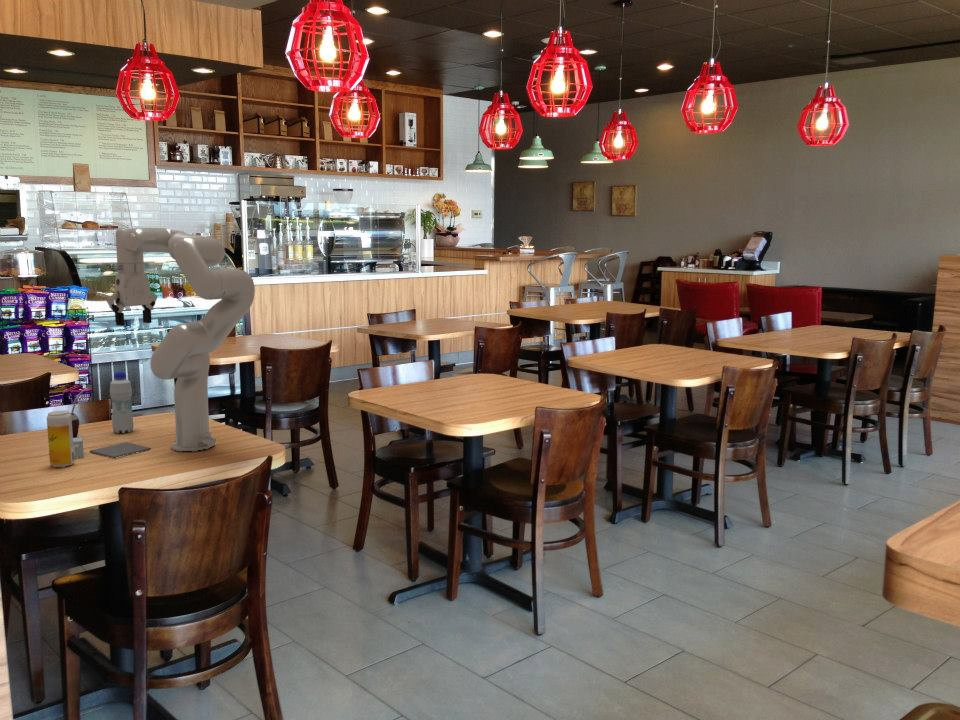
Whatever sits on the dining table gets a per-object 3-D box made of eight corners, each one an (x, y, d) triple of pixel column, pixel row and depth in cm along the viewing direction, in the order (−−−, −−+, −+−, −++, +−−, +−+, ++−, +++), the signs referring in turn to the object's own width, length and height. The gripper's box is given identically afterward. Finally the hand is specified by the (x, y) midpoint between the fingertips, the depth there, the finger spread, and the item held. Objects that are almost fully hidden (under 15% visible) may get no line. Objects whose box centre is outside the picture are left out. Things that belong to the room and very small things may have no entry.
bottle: (112, 430, 265) (108, 370, 262) (134, 428, 268) (130, 369, 265) (112, 435, 259) (108, 373, 256) (134, 433, 262) (131, 372, 259)
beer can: (52, 463, 227) (48, 410, 225) (76, 461, 229) (72, 409, 227) (48, 469, 221) (44, 415, 219) (72, 467, 223) (68, 414, 221)
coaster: (150, 449, 242) (150, 447, 242) (114, 458, 232) (114, 456, 232) (126, 443, 248) (125, 442, 248) (89, 452, 238) (89, 450, 238)
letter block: (64, 455, 235) (63, 438, 234) (83, 453, 237) (82, 437, 237) (64, 459, 231) (63, 442, 230) (83, 457, 233) (82, 441, 232)
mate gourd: (50, 442, 250) (47, 394, 248) (64, 436, 258) (60, 389, 255) (74, 442, 250) (71, 394, 247) (87, 436, 258) (84, 390, 255)
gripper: (113, 270, 239) (117, 327, 242) (162, 268, 254) (165, 322, 257) (97, 269, 243) (101, 325, 245) (146, 267, 258) (149, 321, 260)
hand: (134, 324), depth 251 cm, fingers open, 9 cm apart
